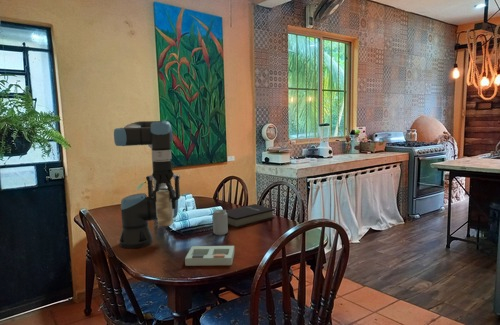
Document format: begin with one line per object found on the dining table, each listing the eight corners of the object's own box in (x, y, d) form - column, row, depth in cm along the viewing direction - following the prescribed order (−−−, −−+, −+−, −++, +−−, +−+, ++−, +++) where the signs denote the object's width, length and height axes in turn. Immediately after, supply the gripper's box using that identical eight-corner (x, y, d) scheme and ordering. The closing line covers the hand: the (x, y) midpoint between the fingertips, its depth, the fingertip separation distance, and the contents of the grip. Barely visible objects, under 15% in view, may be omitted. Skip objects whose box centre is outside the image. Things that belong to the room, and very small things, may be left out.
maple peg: (158, 226, 141) (155, 192, 139) (161, 222, 146) (159, 189, 144) (170, 226, 140) (168, 192, 139) (173, 222, 145) (171, 189, 144)
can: (225, 236, 173) (224, 212, 172) (211, 235, 175) (210, 212, 173) (229, 231, 181) (228, 208, 179) (215, 230, 182) (214, 208, 181)
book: (253, 212, 218) (252, 203, 217) (274, 218, 203) (274, 209, 202) (216, 221, 201) (215, 211, 200) (236, 229, 186) (236, 218, 185)
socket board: (185, 265, 139) (184, 256, 138) (192, 252, 152) (191, 244, 152) (231, 265, 138) (231, 256, 137) (234, 252, 151) (234, 244, 151)
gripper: (136, 162, 137) (140, 219, 139) (182, 161, 136) (185, 218, 139) (143, 159, 144) (146, 214, 147) (186, 158, 143) (189, 213, 146)
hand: (165, 216), depth 143 cm, fingers closed on maple peg, 5 cm apart
